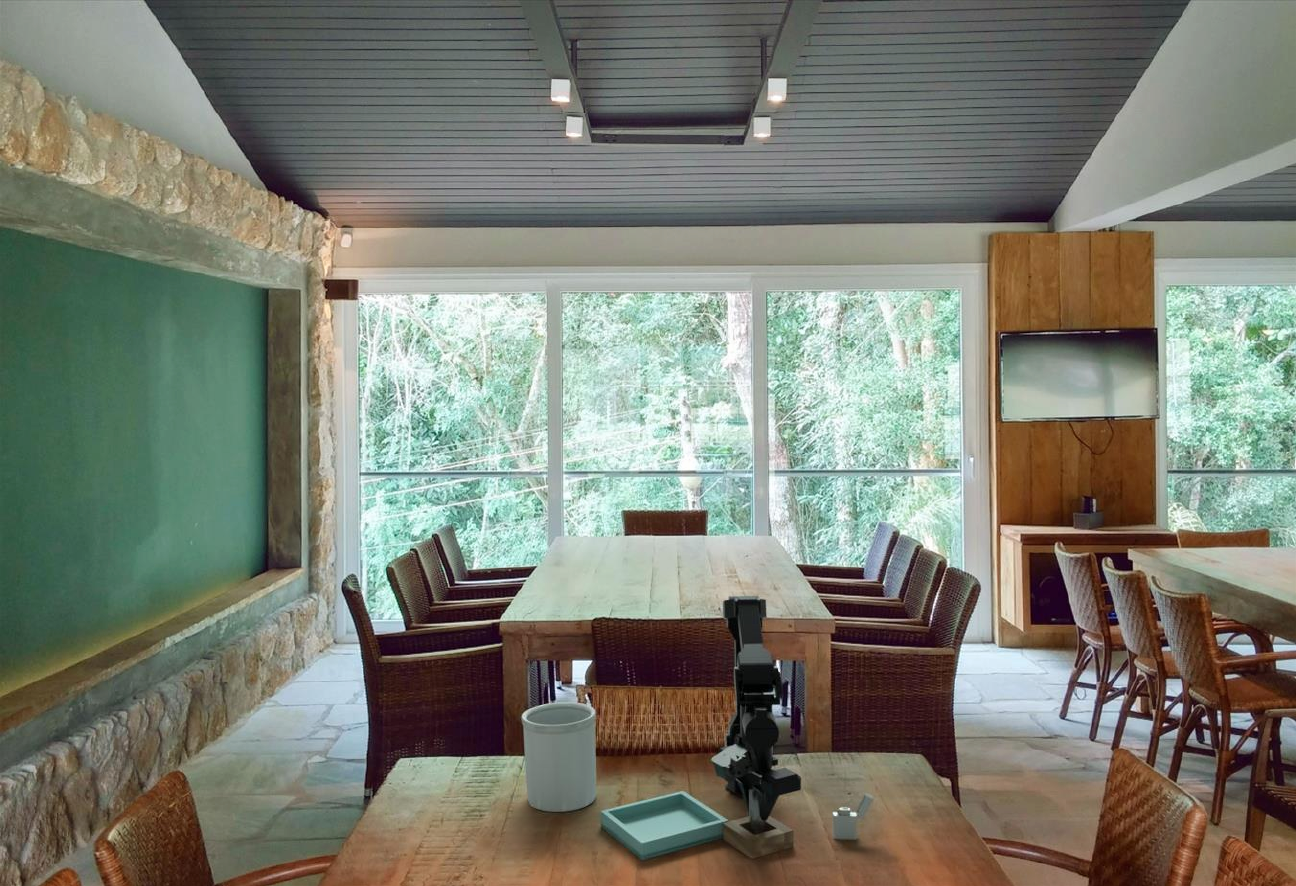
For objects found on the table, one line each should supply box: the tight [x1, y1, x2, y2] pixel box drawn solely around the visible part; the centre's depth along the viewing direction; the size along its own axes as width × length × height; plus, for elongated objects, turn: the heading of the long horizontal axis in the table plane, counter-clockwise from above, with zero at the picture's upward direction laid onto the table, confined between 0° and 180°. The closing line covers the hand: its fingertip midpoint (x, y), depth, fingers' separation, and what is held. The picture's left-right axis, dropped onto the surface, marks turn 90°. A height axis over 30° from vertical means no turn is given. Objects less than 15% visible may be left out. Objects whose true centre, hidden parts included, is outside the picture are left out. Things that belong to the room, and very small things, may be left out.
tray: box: [600, 790, 729, 861], centre depth 188 cm, size 18×16×3 cm
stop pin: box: [748, 786, 766, 835], centre depth 183 cm, size 3×3×10 cm
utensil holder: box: [521, 701, 597, 813], centre depth 204 cm, size 15×15×18 cm
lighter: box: [832, 792, 874, 840], centre depth 184 cm, size 7×2×8 cm, turn 85°
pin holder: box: [722, 815, 795, 860], centre depth 183 cm, size 9×9×3 cm
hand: (757, 815), depth 183 cm, fingers open, 4 cm apart
